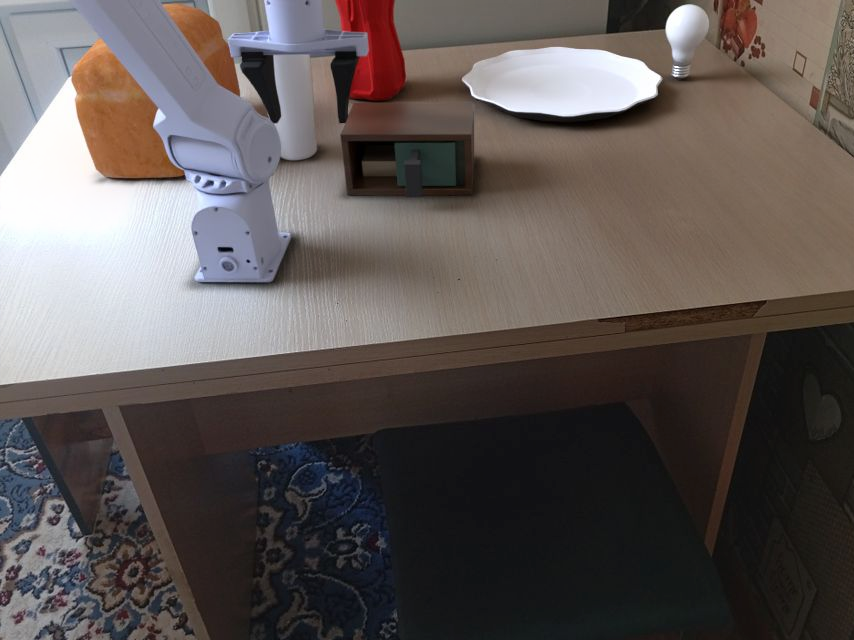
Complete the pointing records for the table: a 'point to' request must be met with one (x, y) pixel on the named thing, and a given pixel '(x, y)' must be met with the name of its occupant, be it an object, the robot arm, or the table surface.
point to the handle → (425, 165)
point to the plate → (562, 83)
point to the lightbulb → (685, 36)
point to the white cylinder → (295, 106)
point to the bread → (139, 100)
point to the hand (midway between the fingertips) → (310, 120)
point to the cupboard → (388, 122)
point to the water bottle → (374, 48)
